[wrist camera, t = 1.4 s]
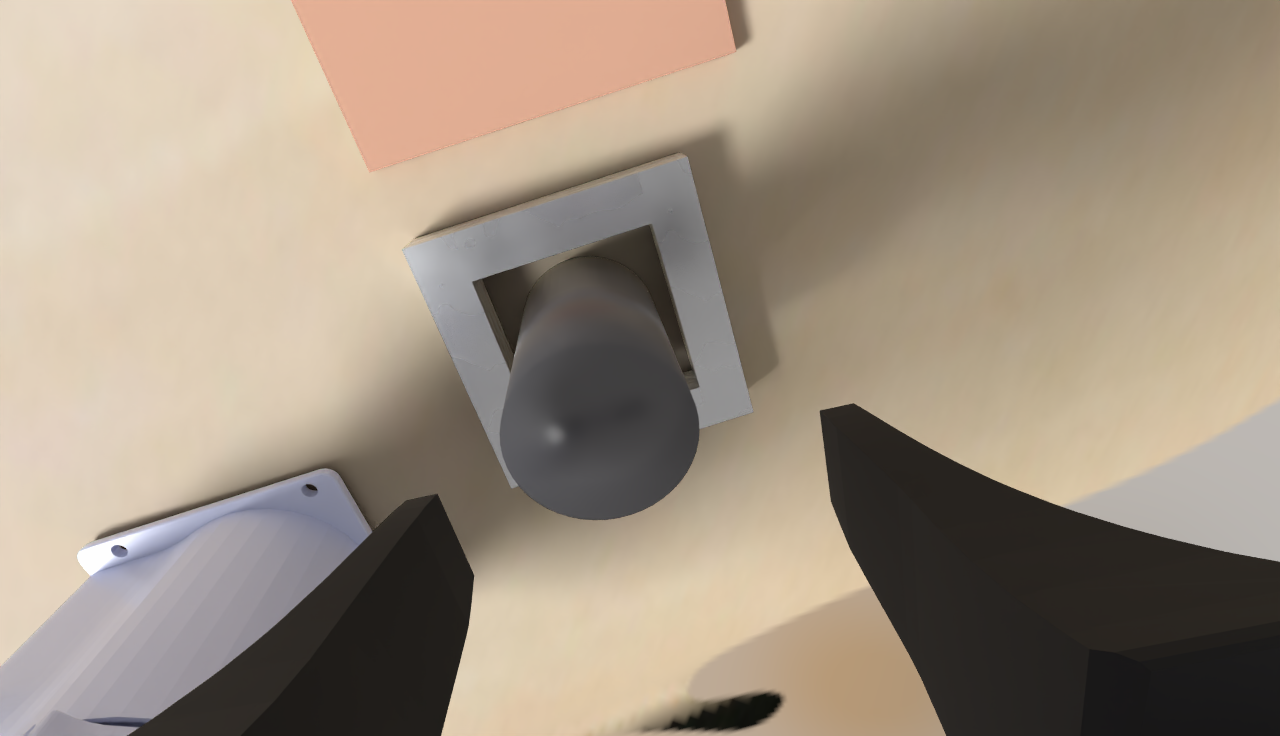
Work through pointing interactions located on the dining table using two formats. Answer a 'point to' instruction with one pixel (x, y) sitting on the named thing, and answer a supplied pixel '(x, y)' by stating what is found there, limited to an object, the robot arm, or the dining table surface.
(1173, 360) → the dining table surface
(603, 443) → the plug
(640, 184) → the socket collar
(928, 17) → the dining table surface
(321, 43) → the tile
